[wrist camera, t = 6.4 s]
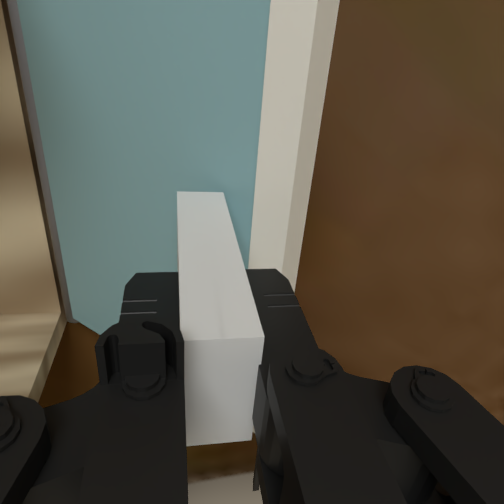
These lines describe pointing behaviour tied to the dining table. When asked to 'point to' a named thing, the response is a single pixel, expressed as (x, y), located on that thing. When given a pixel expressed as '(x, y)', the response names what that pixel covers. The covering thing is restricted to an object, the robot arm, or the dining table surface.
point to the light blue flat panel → (169, 129)
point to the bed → (23, 243)
